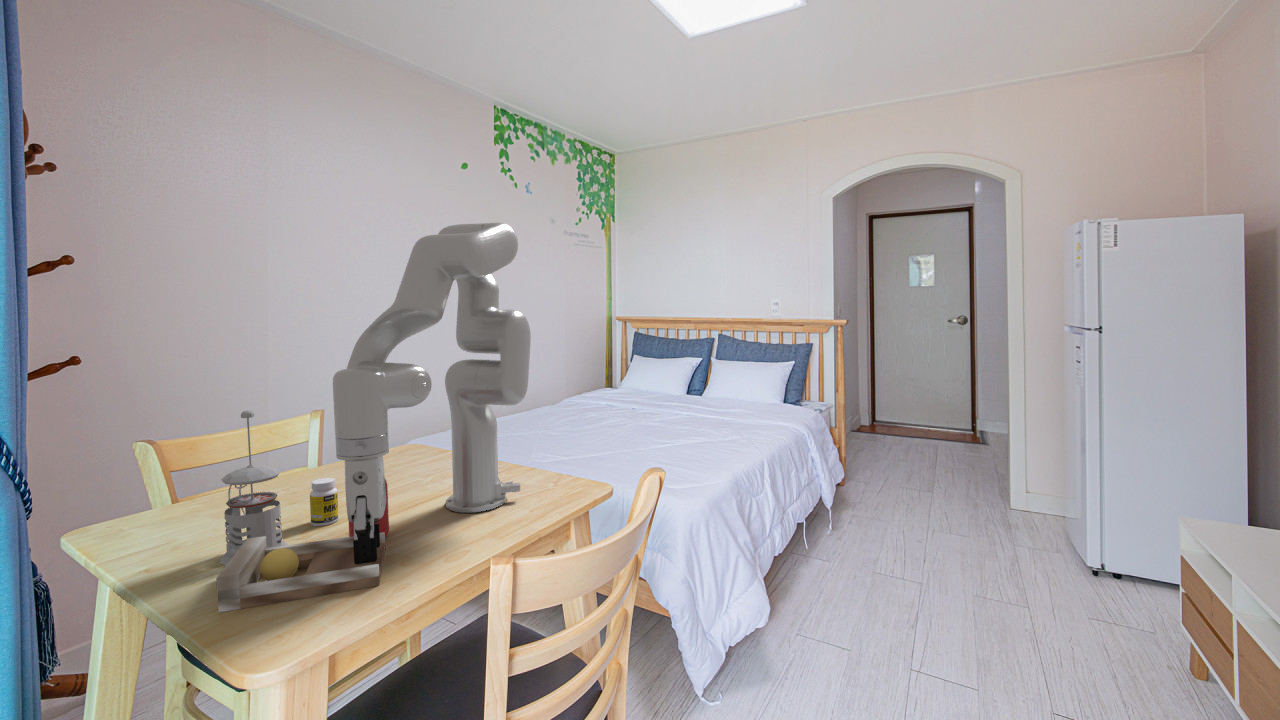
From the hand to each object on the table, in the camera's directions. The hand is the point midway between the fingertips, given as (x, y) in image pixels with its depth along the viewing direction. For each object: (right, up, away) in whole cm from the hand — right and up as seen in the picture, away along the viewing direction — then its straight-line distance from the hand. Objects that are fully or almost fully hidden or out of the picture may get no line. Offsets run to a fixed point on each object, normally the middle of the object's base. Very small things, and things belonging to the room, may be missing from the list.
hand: (367, 554), depth 87 cm
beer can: (-6, -2, +12) cm, 13 cm away
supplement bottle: (-18, -1, +19) cm, 27 cm away
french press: (-23, -2, +6) cm, 24 cm away
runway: (-7, -2, -3) cm, 8 cm away
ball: (-11, 0, -4) cm, 12 cm away
